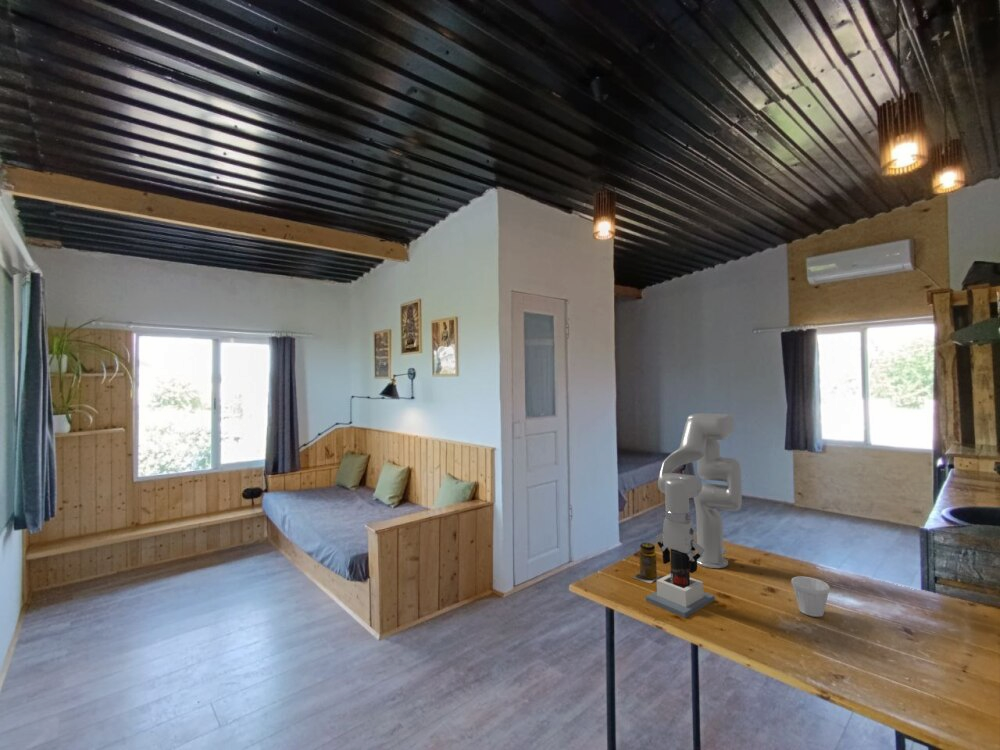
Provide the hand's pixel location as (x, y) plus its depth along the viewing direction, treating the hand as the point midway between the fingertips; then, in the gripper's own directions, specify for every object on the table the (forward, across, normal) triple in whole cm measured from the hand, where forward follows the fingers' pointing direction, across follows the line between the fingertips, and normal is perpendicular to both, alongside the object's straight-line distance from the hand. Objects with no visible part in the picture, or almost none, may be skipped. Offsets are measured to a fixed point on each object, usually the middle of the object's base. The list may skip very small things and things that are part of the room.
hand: (679, 567), depth 151 cm
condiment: (+12, +18, -6) cm, 22 cm away
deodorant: (+10, 0, 0) cm, 10 cm away
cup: (+12, -30, -23) cm, 40 cm away
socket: (+11, 0, +1) cm, 11 cm away
